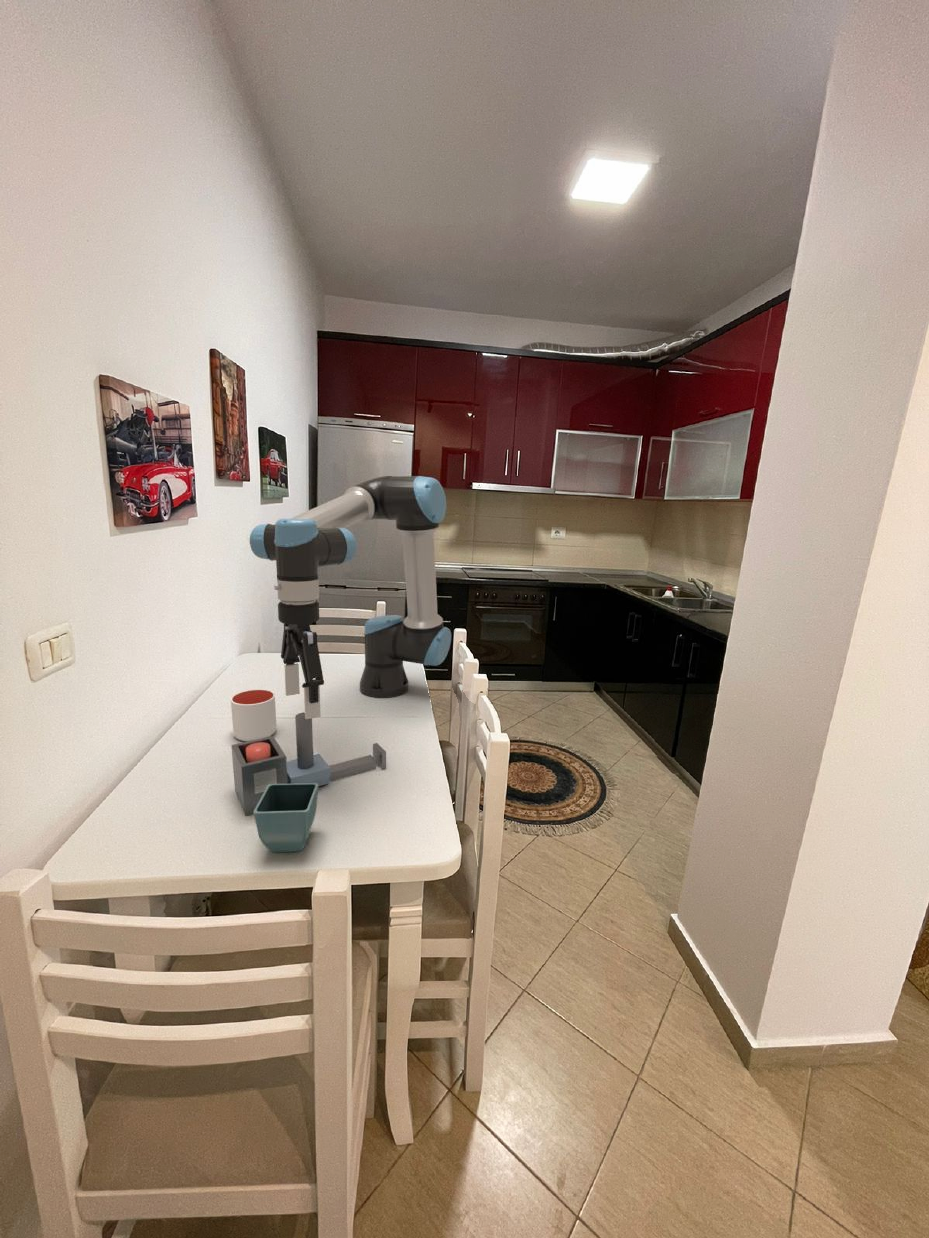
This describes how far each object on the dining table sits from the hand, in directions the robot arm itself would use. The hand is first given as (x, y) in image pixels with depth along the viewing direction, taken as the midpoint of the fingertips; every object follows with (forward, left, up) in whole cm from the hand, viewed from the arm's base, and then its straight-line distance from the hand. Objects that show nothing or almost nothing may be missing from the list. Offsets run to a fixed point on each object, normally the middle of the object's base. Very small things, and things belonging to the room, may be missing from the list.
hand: (302, 705), depth 103 cm
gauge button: (+9, 0, -12) cm, 15 cm away
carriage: (0, 0, -18) cm, 18 cm away
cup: (+4, -29, -18) cm, 34 cm away
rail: (-5, 0, -18) cm, 18 cm away
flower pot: (+8, +17, -18) cm, 26 cm away
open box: (+9, 0, -18) cm, 20 cm away
